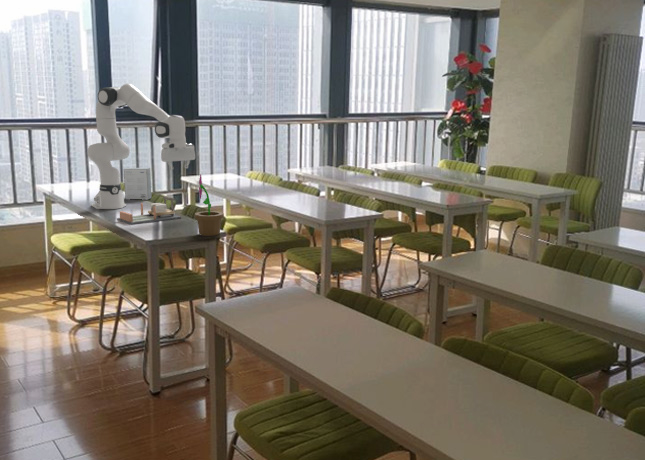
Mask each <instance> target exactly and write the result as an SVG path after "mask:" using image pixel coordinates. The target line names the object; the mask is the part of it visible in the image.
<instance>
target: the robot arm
mask: <svg viewBox="0 0 645 460" xmlns="http://www.w3.org/2000/svg"><path fill="white" fill-rule="evenodd" d="M97 100H98V102H96V106H95V118H96V120H95V121H96V131H97V133H98V134H99V135H100V136H102V137H103V138H104V139H105V142H97V143H92V144H90V145H88V148H87V151H86V152H87V156H88V158H89V160H90V161H92V162H93V163H94V164H95V165H96V166H97V169H98V171H99V176H100V177H99V178H100V184H99V191H98V192H97V194H96V195H95V196H94V197H93V201H94V202H93V203H91V204H90V205H91V207H92V208H94V209H96V210H117V209H123V208H124V207H126V206H127V204H126V203H125V196H124V193H123V191H122V185H121V178H120V171H119V169H118V168H116V167H114V166H113V165H112V163H111V162H112V161H113V162H114V161H122V160H125V159H127V158H128V157H129V156H130V153H131V152H130V147H129V145H128V144H127V143H126V142H125V141H123V139H122V138H121V137H120V135H119V133H118V127H117V119H116V118H117V117H116V110H117V108H119V109H121V108H123V107H125V106H127V107H128V108H130V109H131V110H132V111H133V112H135V113H136V114H139V115H145V116H149V117H153V118H155V120H157V121H158V122H156V124H155V125H154V133H155V135H156V136H157V137H158V138H160V139H169V141H167V142H165V143H162V144H161V147H162V149H161V151H160V153H161V154H160V158H161V159H160V160H161V161H162V162H164V163H167V164H168V167H169V170H171V171H172V170H174V166H173V165H172V162H180V161H185V164H184V169H189V165H190V163H191V161H194V160H195V159H196V150H195V145H194V144H193V143H187V139H186V138H187V137H186V122H185V118H184V117H183V116H182V115H179V114H171V115H170V114H168V113H167V112H166V111H164V109H163V108H161V107H160V106H159V105H157V104H156V103H155V102H153V101H152V100H151V99H150V98H149V97H148V96H146V95H145V94H144V93H143V92H142V91H141V90H140V89H139V88H137V87H136V86H135V85H133V84H132V83H124V84H123V85H121V86H120V87H119V86H113V87H112V86H111V87H107V86H106V87H103V88H100V89H99V91H98V93H97Z"/></svg>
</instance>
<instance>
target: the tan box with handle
mask: <svg viewBox="0 0 645 460" xmlns="http://www.w3.org/2000/svg"><path fill="white" fill-rule="evenodd" d="M163 199H164V200H163V202H155V203H154V202H153V203H150V210H147V214H152V215H154V209H153V207H156V216H158V217H161V215H169V214H170V215H171V216H173V215H174V214H175V215H176V212H175V210H174V200H175V199H174V197H169V196H166V195H164V196H163ZM167 200H168V201H171V205H170V206H171V209H169V208H167V206H168V205H167Z"/></svg>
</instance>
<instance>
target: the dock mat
mask: <svg viewBox="0 0 645 460" xmlns="http://www.w3.org/2000/svg"><path fill="white" fill-rule="evenodd" d="M147 217H151V216H147ZM179 218H180V219H181V218H182V216H180V215H177V214H175V216H168V217H160V218H156V220H154V219H152V220H144V221H136V222H128V221H125V220H122V219H120V217H117V218H116V220H117V221H119V222H122V223H125V224H128V225H132V226H133V225H140V224H147V223H154V222H163V221H171V220H177V219H179Z"/></svg>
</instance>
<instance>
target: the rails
mask: <svg viewBox="0 0 645 460" xmlns="http://www.w3.org/2000/svg"><path fill="white" fill-rule="evenodd" d="M175 215H176V213H175V214H174V215H173V216H175ZM132 216H133V218H135V219H133V221H134V220H142V219H150V218H154V215H152V214H149V213H147V214H143V215H141V214H139V215H132ZM145 216H151V217H145ZM168 216H171V215H170V214H169V215H161V217H168ZM137 217H143V218H137ZM156 218H160V217H158V216H156Z"/></svg>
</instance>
